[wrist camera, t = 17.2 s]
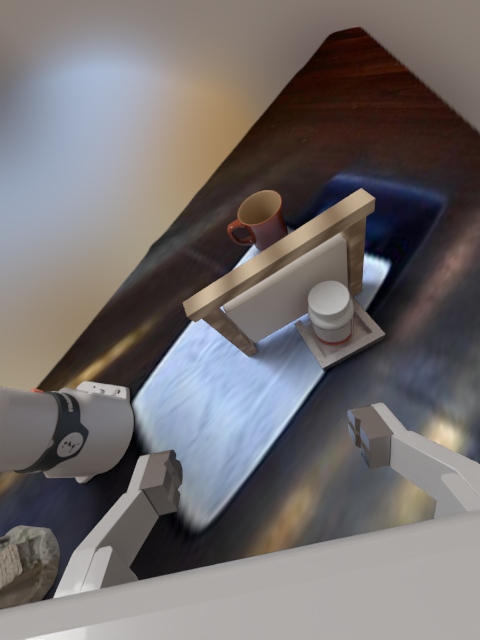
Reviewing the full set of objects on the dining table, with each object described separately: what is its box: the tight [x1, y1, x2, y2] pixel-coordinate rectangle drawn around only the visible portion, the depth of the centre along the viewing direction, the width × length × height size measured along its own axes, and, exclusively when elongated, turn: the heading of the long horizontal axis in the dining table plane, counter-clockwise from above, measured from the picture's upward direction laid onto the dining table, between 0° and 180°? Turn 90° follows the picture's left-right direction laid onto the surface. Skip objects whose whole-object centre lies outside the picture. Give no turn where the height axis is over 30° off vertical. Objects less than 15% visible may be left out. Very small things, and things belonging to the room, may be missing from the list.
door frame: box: [183, 188, 375, 357], centre depth 37 cm, size 25×2×19 cm, turn 113°
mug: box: [227, 190, 288, 252], centre depth 51 cm, size 12×9×10 cm
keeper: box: [294, 293, 385, 371], centre depth 40 cm, size 10×9×2 cm
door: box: [223, 233, 348, 343], centre depth 38 cm, size 18×3×12 cm, turn 113°
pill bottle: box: [308, 281, 354, 346], centre depth 36 cm, size 6×6×11 cm
